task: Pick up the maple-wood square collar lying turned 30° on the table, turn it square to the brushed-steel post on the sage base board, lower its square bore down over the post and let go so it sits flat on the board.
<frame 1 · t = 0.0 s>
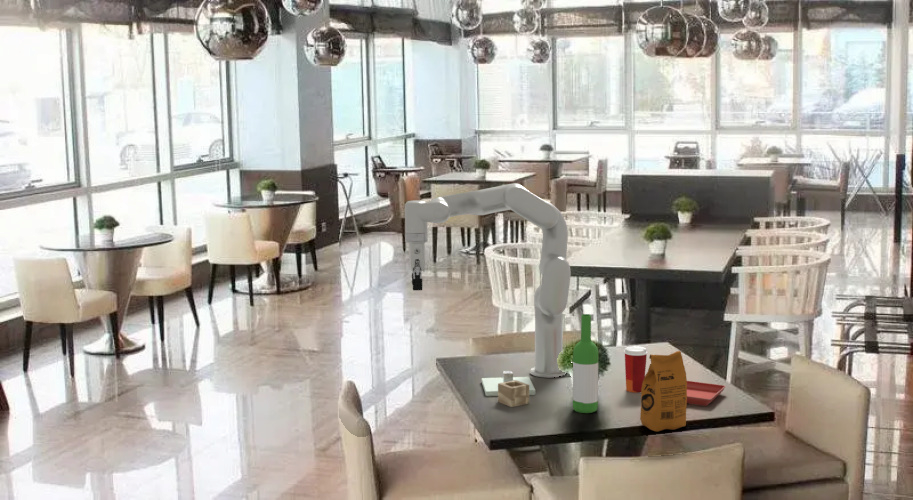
hand: (417, 287, 379), 31 cm above the table, fingers open, 9 cm apart
wine bottle: (585, 410, 345), on the table
plant saucer: (690, 399, 358), on the table
coffee package: (662, 426, 330), on the table
maple collar: (513, 402, 354), on the table
paper cup: (634, 390, 366), on the table
post board: (507, 388, 369), on the table
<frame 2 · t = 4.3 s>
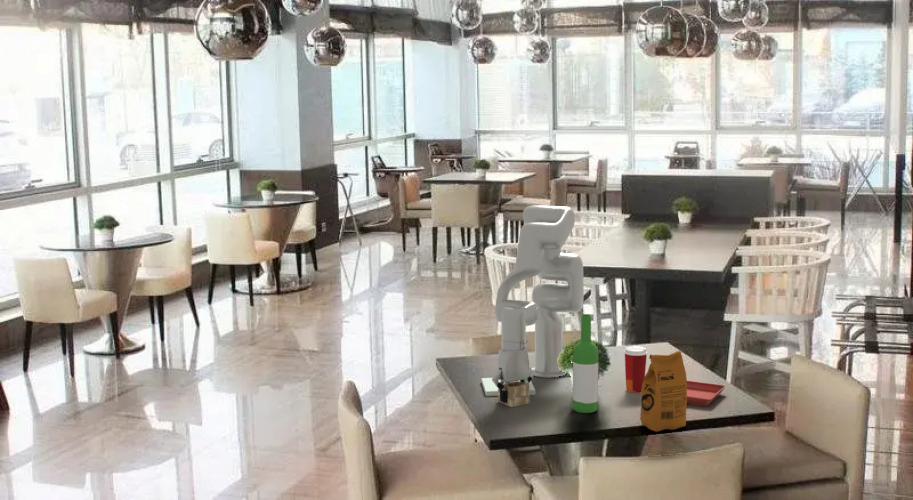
hand: (513, 399, 353), 1 cm above the table, fingers closed on maple collar, 7 cm apart
maple collar: (513, 402, 354), on the table, touching gripper
everything else where it was.
when the fingers open (4 cm above the table, at t = 9.7 s): maple collar drops 1 cm, resting on post board.
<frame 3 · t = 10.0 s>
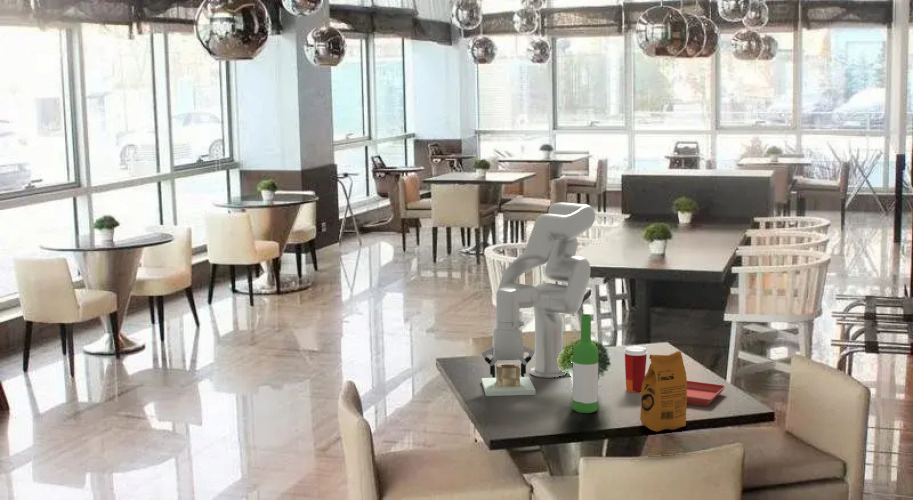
hand: (507, 376, 369), 4 cm above the table, fingers open, 9 cm apart
maple collar: (508, 383, 369), point 1 cm above the table, touching post board
everything else where it was.
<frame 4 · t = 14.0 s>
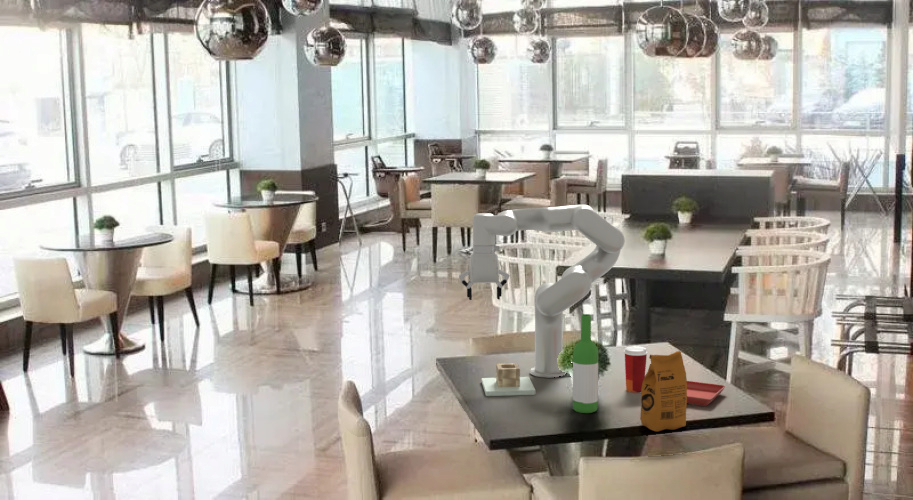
hand: (484, 299, 384), 26 cm above the table, fingers open, 9 cm apart
nothing on the table moved.
at the end: maple collar 0.1 cm off-centre on the post board, point 1.5 cm above the post board's base; maple collar tilted 0°; the gripper is holding nothing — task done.
